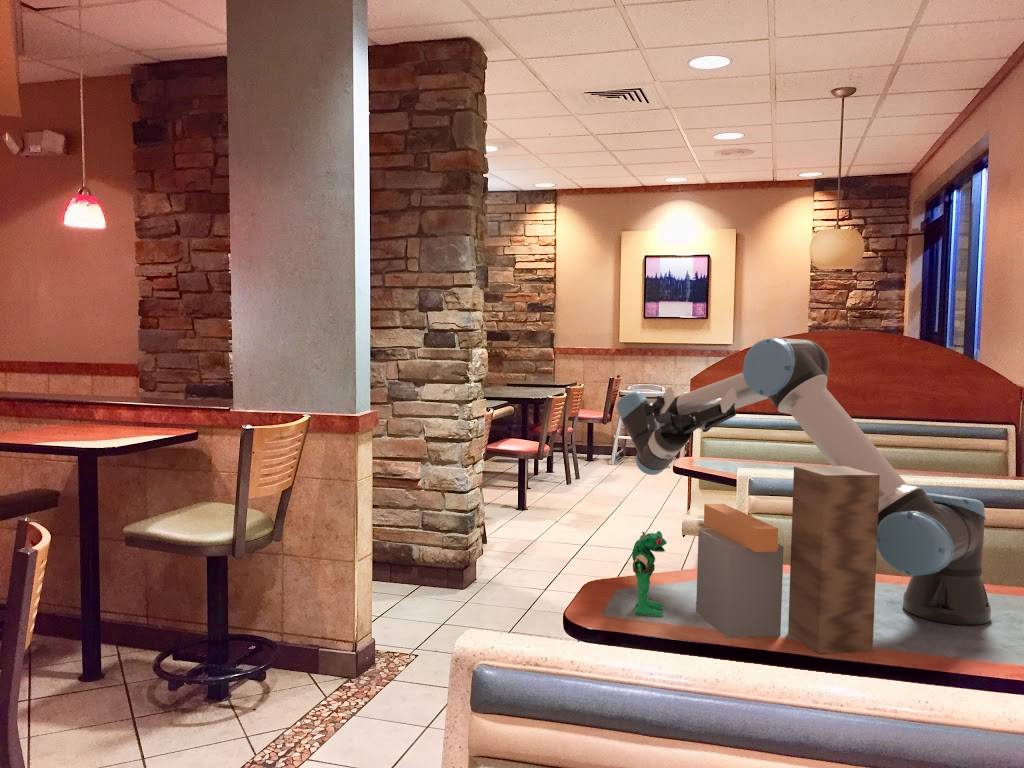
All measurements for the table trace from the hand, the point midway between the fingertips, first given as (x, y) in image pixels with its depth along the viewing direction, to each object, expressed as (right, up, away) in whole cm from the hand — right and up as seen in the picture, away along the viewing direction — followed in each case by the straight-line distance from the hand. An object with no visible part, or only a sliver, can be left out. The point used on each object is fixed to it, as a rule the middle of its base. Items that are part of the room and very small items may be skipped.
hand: (703, 393), depth 167 cm
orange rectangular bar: (+3, -26, -16) cm, 31 cm away
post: (+16, -43, -24) cm, 52 cm away
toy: (-13, -42, -9) cm, 45 cm away
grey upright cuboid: (+3, -42, -15) cm, 45 cm away
